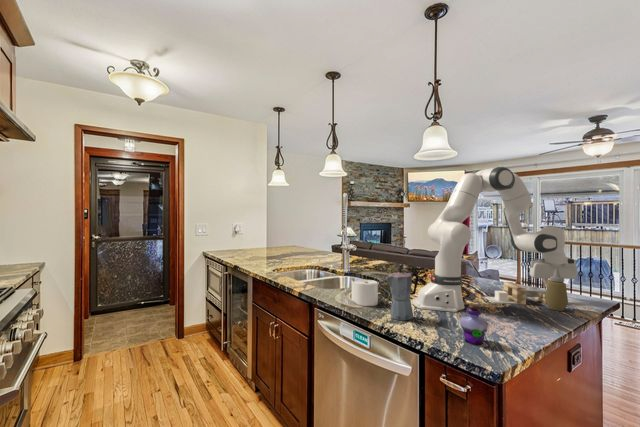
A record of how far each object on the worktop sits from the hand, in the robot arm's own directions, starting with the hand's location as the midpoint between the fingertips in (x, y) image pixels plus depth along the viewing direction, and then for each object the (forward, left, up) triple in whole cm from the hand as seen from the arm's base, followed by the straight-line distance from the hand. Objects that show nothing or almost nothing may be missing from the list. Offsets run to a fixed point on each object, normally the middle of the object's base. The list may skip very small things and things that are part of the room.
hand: (553, 287), depth 145 cm
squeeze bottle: (-6, -12, -7) cm, 15 cm away
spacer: (-23, -1, -5) cm, 23 cm away
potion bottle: (-59, -52, -7) cm, 79 cm away
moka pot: (-78, -30, -7) cm, 84 cm away
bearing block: (-18, 0, -7) cm, 19 cm away
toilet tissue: (-92, -12, -7) cm, 93 cm away
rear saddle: (-4, 0, -7) cm, 8 cm away
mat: (-25, 0, -7) cm, 26 cm away
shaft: (-8, 0, -5) cm, 10 cm away
